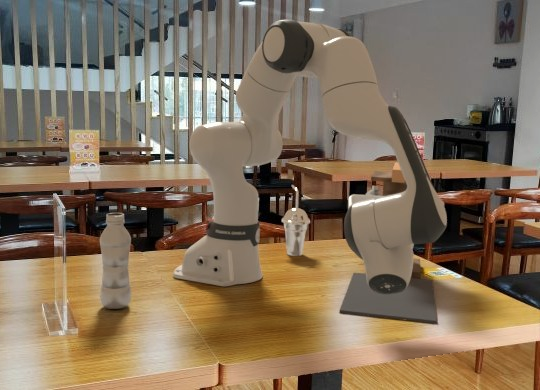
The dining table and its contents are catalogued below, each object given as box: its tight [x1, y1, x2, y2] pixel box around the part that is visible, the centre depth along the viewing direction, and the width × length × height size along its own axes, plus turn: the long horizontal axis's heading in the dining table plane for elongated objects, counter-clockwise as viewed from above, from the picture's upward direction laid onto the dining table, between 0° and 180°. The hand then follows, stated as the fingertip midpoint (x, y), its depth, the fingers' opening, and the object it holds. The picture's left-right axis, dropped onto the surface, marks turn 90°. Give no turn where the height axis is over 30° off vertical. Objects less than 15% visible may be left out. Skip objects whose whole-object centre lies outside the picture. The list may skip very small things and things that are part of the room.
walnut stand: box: [370, 170, 422, 279], centre depth 158 cm, size 14×14×26 cm
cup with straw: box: [281, 184, 311, 257], centre depth 173 cm, size 8×9×20 cm
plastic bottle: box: [99, 212, 133, 310], centre depth 123 cm, size 6×7×20 cm
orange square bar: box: [391, 161, 405, 183], centre depth 150 cm, size 3×20×3 cm, turn 166°
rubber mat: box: [338, 272, 437, 324], centre depth 138 cm, size 20×30×1 cm, turn 166°
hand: (396, 189), depth 131 cm, fingers open, 8 cm apart
